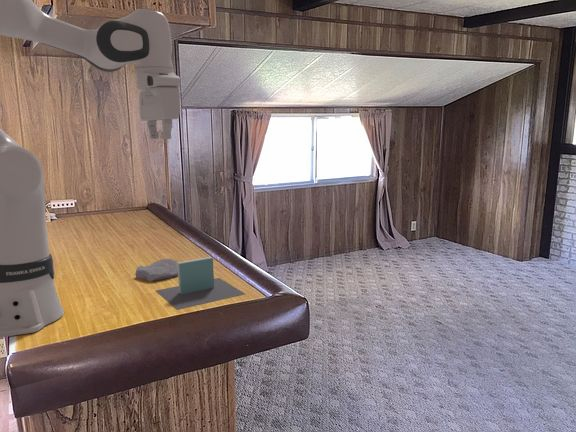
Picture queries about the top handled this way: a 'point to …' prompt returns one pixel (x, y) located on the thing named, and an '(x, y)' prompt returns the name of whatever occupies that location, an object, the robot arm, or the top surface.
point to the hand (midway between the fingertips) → (160, 139)
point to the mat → (199, 295)
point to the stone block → (158, 270)
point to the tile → (195, 275)
